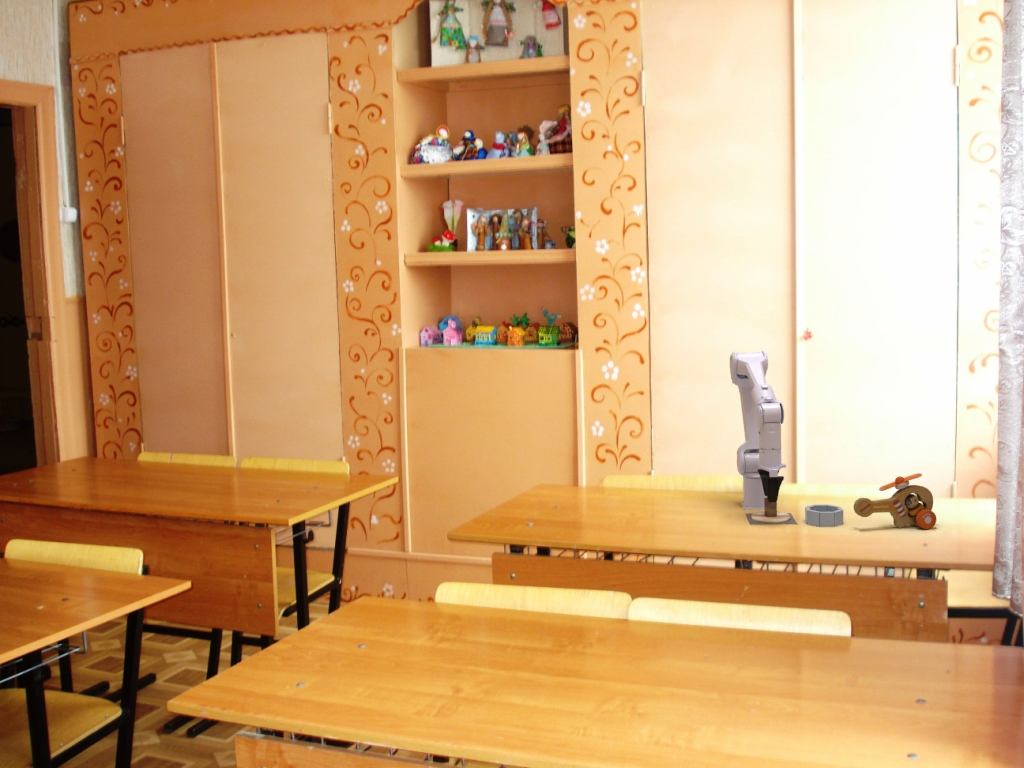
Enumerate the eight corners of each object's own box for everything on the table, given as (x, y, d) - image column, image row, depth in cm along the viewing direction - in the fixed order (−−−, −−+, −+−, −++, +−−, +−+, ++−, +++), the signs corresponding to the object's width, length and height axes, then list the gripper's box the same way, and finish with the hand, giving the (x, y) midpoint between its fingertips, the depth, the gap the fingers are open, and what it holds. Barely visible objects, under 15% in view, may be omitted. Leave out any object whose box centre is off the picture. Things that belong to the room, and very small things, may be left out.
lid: (749, 514, 268) (749, 494, 268) (787, 514, 267) (787, 494, 266) (753, 523, 258) (753, 503, 258) (793, 523, 257) (792, 502, 256)
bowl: (803, 519, 262) (803, 504, 262) (838, 519, 261) (838, 504, 260) (809, 528, 253) (808, 512, 253) (845, 527, 252) (845, 512, 251)
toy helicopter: (941, 528, 248) (941, 474, 246) (863, 534, 245) (863, 480, 244) (922, 521, 256) (923, 468, 255) (847, 526, 253) (847, 474, 252)
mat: (745, 514, 269) (745, 513, 269) (790, 514, 268) (790, 513, 268) (750, 525, 258) (750, 524, 257) (797, 525, 256) (797, 524, 256)
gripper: (789, 452, 253) (790, 504, 254) (781, 443, 267) (782, 492, 269) (761, 453, 254) (762, 505, 255) (755, 443, 268) (755, 493, 269)
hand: (770, 498), depth 262 cm, fingers open, 7 cm apart
